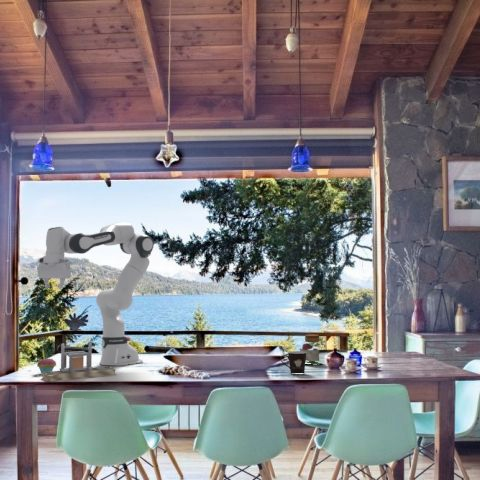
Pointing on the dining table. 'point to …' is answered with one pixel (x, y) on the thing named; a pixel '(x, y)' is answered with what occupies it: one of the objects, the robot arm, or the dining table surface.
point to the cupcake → (46, 364)
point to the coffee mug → (296, 361)
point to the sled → (76, 360)
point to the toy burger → (311, 354)
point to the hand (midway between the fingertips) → (53, 287)
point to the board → (78, 374)
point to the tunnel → (73, 354)
